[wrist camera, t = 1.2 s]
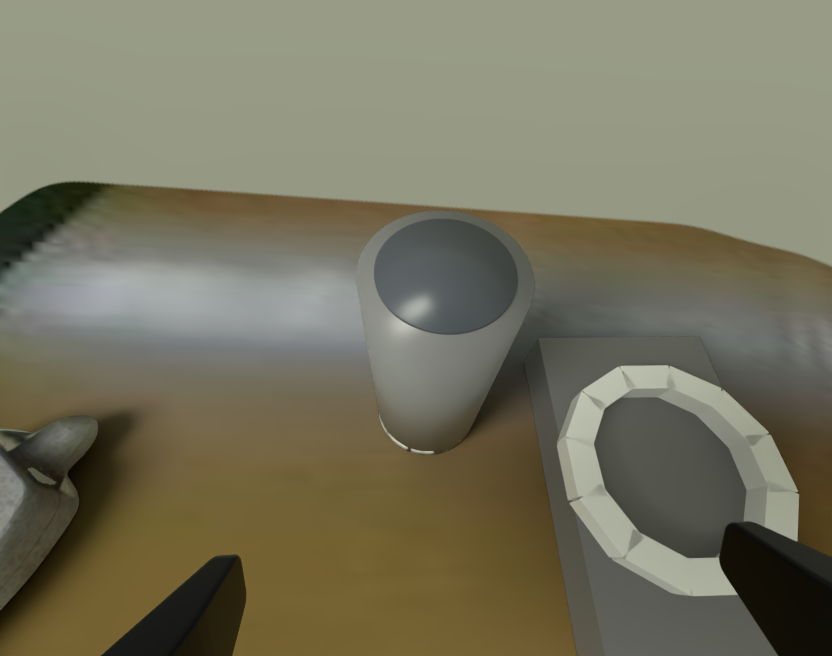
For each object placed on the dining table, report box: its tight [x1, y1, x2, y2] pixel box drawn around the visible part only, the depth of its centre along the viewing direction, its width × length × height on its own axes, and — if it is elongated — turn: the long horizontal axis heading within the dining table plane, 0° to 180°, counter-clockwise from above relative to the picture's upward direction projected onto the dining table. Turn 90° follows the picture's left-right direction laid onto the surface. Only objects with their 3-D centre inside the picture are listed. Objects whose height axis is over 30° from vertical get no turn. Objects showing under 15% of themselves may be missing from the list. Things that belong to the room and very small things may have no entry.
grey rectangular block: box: [524, 336, 799, 656], centre depth 19 cm, size 14×9×4 cm
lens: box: [356, 210, 535, 455], centre depth 17 cm, size 6×6×12 cm
